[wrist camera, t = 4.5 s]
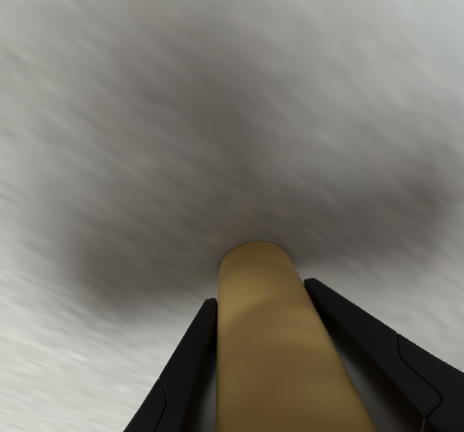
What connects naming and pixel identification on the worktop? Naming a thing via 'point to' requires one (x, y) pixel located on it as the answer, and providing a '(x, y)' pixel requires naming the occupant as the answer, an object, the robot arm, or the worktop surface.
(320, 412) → the block
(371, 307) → the worktop surface
